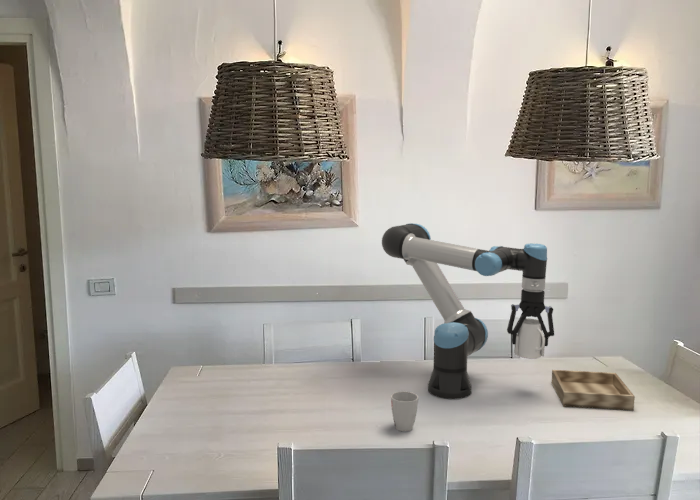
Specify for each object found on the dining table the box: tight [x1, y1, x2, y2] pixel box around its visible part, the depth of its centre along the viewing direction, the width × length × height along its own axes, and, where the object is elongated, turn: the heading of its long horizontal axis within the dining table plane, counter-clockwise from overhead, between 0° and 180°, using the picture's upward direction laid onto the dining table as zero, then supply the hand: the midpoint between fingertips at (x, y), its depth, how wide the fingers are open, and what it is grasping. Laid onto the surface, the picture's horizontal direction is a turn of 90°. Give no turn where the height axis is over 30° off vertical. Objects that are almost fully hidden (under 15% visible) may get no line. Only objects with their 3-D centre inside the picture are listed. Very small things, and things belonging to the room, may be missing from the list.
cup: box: [390, 390, 419, 432], centre depth 183 cm, size 8×8×10 cm
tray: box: [550, 369, 636, 412], centre depth 209 cm, size 22×22×5 cm
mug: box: [516, 317, 545, 360], centre depth 208 cm, size 12×8×12 cm
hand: (528, 354), depth 209 cm, fingers closed on mug, 8 cm apart
